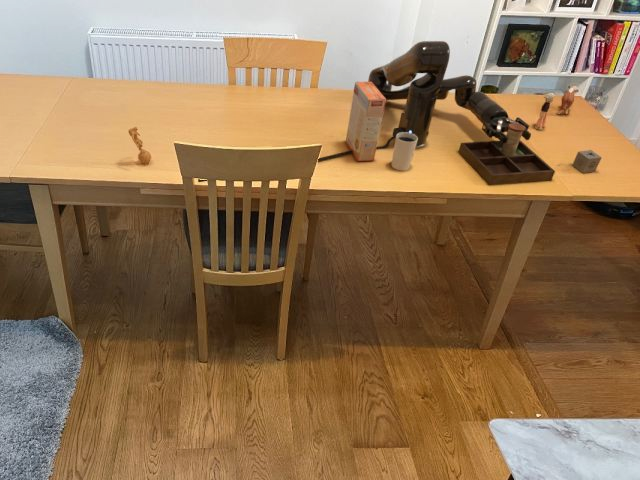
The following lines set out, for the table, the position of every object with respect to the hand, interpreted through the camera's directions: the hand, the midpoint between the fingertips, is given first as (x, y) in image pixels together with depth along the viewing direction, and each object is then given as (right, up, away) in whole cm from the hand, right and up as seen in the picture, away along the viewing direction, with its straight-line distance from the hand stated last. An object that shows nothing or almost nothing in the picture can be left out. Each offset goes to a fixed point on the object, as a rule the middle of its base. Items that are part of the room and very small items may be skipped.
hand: (517, 139), depth 187 cm
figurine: (-119, -9, -5) cm, 120 cm away
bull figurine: (+34, +20, +38) cm, 55 cm away
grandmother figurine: (+19, +11, +26) cm, 34 cm away
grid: (-4, -8, +2) cm, 9 cm away
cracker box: (-50, -3, +6) cm, 50 cm away
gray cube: (+23, -9, +3) cm, 25 cm away
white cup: (-38, -9, 0) cm, 39 cm away
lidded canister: (-1, -3, +6) cm, 7 cm away
